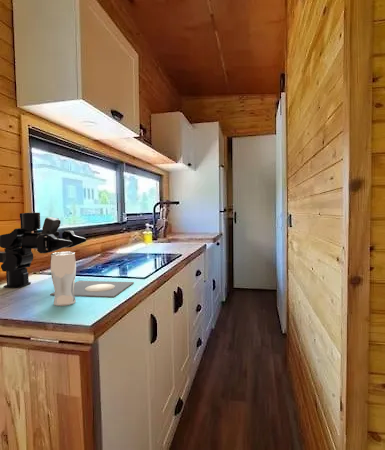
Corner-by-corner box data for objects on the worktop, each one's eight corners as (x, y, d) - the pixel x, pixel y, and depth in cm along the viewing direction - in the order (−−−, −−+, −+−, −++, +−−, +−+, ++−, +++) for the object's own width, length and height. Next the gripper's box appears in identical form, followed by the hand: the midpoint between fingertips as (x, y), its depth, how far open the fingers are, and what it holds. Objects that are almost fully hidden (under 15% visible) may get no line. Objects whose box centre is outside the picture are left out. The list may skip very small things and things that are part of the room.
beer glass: (50, 307, 87) (47, 255, 86) (54, 300, 93) (52, 252, 92) (76, 305, 88) (74, 254, 87) (78, 298, 95) (76, 251, 94)
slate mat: (50, 295, 99) (50, 293, 99) (79, 281, 117) (79, 280, 117) (114, 297, 96) (113, 295, 96) (133, 283, 114) (133, 281, 113)
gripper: (19, 219, 100) (63, 219, 97) (54, 217, 118) (91, 217, 116) (21, 253, 101) (64, 254, 98) (55, 245, 119) (92, 246, 116)
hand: (79, 241), depth 107 cm, fingers open, 9 cm apart
